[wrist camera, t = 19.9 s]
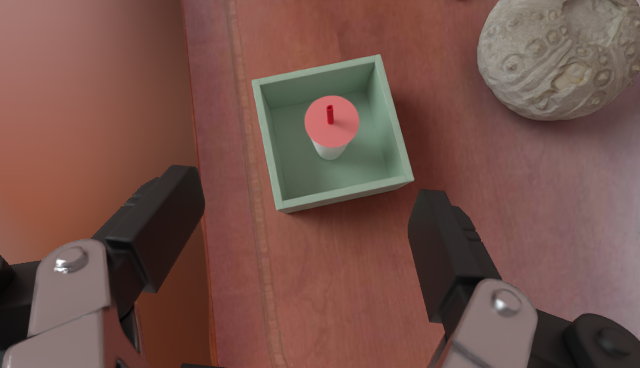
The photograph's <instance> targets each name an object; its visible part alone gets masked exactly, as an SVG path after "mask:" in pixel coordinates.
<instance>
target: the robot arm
mask: <svg viewBox="0 0 640 368" xmlns="http://www.w3.org/2000/svg"><path fill="white" fill-rule="evenodd" d="M204 209H205V199H204V194H203V190H202V186H201V181H200V177H199V172H198V170H197V168H196V167H192V166H181V165H172V166H170V167H169V168H168V169H167V170H166V172H165V173H164V174H163V175H162V176H161V177H160V178H159V177H156V178H154V179H152V180H151V181H149V182H147V183H145V184H144V185H142V186H141V187H140V188H139V189H138V190H137V192H135V193H134V194H133V196H132V198H130V199H128V201H127V202H126V203H125V204H124V206H122V207H121V208H120V209H119V210H118V211H117V212H116V213H115V214H114V215H113V216H112V217H111V218H110V219H109V220H108V221H107V222H106V223H105V224H104V225H103V226H102V227H101V228H100V229H99V230H98V231H97V232H96V233H95V234H94V235H93V237H92V238H91V239H83V240H77V241H73V242H71V243H68V244H65V245H63V246H61V247H59V248H57V249H56V250H54V251H53V252H51V253H50V254H49V255H47V256H46V257H45V258H44V259H43V260H41V261H34V262H27V263H21V264H14V265H9V264H8V263H7V262H6V261H5V260H4V258H2V256H1V255H0V368H149V365H148V362H147V358H146V353H145V346H144V340H143V334H142V328H141V322H140V315H139V309H138V304H137V302H136V300H137V298H138V296H139V295H140V293H141V292H149V293H157V292H158V290H159V288H160V287H161V285H162V283H163V282H164V280H165V278H166V277H167V275H168V273H169V271H170V270H171V268H172V266H173V265H174V263H175V261H176V260H177V258H178V256H179V255H180V253H181V251H182V250H183V248H184V246H185V244H186V243H187V241H188V239H189V238H190V236H191V234H192V233H193V230H194V229H195V228H196V226H197V224H198V223H199V221H200V219H201V218H202V216H203V213H204ZM475 230H476V229H475V227H474V225H473V223H472V221H471V220H470V218H469V217H468V216H467V215H466V214H465V213H464V212H463V211H462V210H461V209H460V208H459V207H456V206H452V205H451V203H450V201H449V199H448V197H447V195H446V193H445V192H444V191H438V190H428V189H421V190H420V191H419V193H418V196H417V199H416V202H415V204H414V207H413V210H412V213H411V216H410V219H409V222H408V239H409V243H410V247H411V251H412V255H413V259H414V263H415V267H416V271H417V275H418V279H419V283H420V287H421V291H422V294H423V298H424V302H425V306H426V310H427V314H428V318H429V322H434V323H443V326H444V330H445V334H444V335H443V337H442V339H441V341H440V343H439V345H438V347H437V349H436V351H435V352H434V354H433V356H432V358H431V360H430V362H429V364H428V366H427V368H640V341H639V340H638V339H637V338H636V337H635V336H634V335H633V334H632V333H631V332H629V331H628V330H627V329H625V328H624V327H622V326H621V325H619V324H618V323H616V322H614V321H612V320H610V319H608V318H606V317H603V316H601V315H597V314H591V313H586V314H582V315H580V316H579V317H578V318H577V319H575V320H574V321H573V322H570V321H567V320H565V319H562V318H559V317H557V316H554V315H551V314H548V313H546V312H543V311H540V310H538V309H535V307H534V305H533V304H532V302H531V301H530V300H529V298H528V297H527V296H526V295H525V294H524V293H523V292H521V291H520V290H519V289H518V288H516V287H514V286H513V285H511V284H509V283H507V282H504V281H503V280H502V278H501V276H500V275H499V273H498V271H497V269H496V267H495V265H494V263H493V261H492V259H491V257H490V256H489V254H488V252H487V250H486V248H485V246H484V244H483V242H481V239H480V237H479V235H478V233H477V232H476V231H475ZM181 368H224V367H214V366H204V365H194V364H185V363H183V364H182V366H181Z"/></svg>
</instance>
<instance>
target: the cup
mask: <svg viewBox="0 0 640 368" xmlns="http://www.w3.org/2000/svg"><path fill="white" fill-rule="evenodd" d="M305 128H306V131H307V133H308V135H309V136H310V138H311V139H312V142H313V144H314V146H315V148H316V151H317V153H318V154H319V156H320V157H321V158H323V159H325V160H334V159H337V158H338V157H339V156H340V155H341V154H342V152H343V151H344V149H345V148H346V146H347V145H348V143H349V142H350V141H351V140H352V139H353V138H354V136H355V135H356V133H357V131H358V128H359V115H358V112H357V110H356V108H355V107H354V106H353V104H352V103H351V102H349V101H348V100H346V99H345V98H342V97H339V96H325V97H322V98H319V99H317V100H316V101H315V102H313V103H312V104H311V105H310V107H309V108H308V110H307V112H306V115H305Z"/></svg>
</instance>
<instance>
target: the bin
mask: <svg viewBox="0 0 640 368" xmlns="http://www.w3.org/2000/svg"><path fill="white" fill-rule="evenodd" d="M251 81H252V86H253V91H254V97H255V102H256V107H257V112H258V118H259V123H260V128H261V133H262V138H263V144H264V149H265V154H266V159H267V164H268V170H269V175H270V180H271V185H272V191H273V196H274V201H275V206H276V210H277V211H280V212H282V213H285V214H286V213H291V212H296V211H300V210H305V209H310V208H314V207H319V206H323V205H328V204H333V203H337V202H342V201H346V200H351V199H356V198H360V197H365V196H370V195H374V194H379V193H383V192H388V191H393V190H396V189H398V188H400V187H402V186H404V185H406V184H408V183H410V182H412V181H414V177H413V173H412V169H411V166H410V162H409V158H408V155H407V151H406V147H405V143H404V140H403V136H402V132H401V129H400V125H399V121H398V118H397V114H396V110H395V107H394V103H393V99H392V96H391V92H390V88H389V85H388V81H387V77H386V74H385V70H384V66H383V62H382V59H381V55H380V54H379V55H374V56H369V57H364V58H359V59H354V60H349V61H344V62H339V63H334V64H330V65H325V66H320V67H315V68H310V69H305V70H300V71H295V72H290V73H285V74H280V75H275V76H270V77H265V78H260V79H255V80H251ZM325 96H339V97H342V98H345V99H346V100H348V101H349V102H351V103H352V104H353V106H354V107H355V108H356V110H357V112H358V115H359V128H358V131H357V133H356V135H355V136H354V138H353V139H352V140H351V141H350V142H349V143H348V145H347V146H346V148H345V149H344V151H343V152H342V154H341V155H340V156H339V157H338V158H337V159H334V160H325V159H323V158H321V157H320V156H319V154H318V153H317V151H316V148H315V146H314V144H313V142H312V139H311V138H310V136H309V135H308V133H307V131H306V128H305V115H306V112H307V110H308V108H309V107H310V105H311V104H312V103H313V102H315V101H316V100H317V99H319V98H322V97H325Z"/></svg>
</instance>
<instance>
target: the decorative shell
mask: <svg viewBox="0 0 640 368" xmlns="http://www.w3.org/2000/svg"><path fill="white" fill-rule="evenodd" d="M477 65H478V66H479V72H480V74H481V75H482V76H483V78H484V80H485V83H486V85H487V86H488V87H489V88H490V89H491V90H492V91H493V93H494V95H495V96H496V97H497V98H498V99H499V100H500V102H501V103H502V104H504V105H505V106H507V107H508V108H509V109H510V110H513V111H515V112H516V113H517V114H519V115H520V116H523V117H525V118H529V119H532V120H547V121H555V120H568V119H573V118H576V117H582V116H587V115H589V114H591V113H594V112H595V111H597V110H598V109H600V108H603V107H604V106H606V105H608V104H609V103H610V102H611V101H612V100H614V99H615V98H617V97H618V96H619V94H620V93H621V92H622V91H624V90H626V89H627V88H629V87H630V86H632V85H633V82H632V78H633V77H634V76H635V75H636V74H637V72H638V71H639V70H640V7H639V4H638V2H637V1H636V0H499V1H498V3H497V4H496V5H495V7H494V8H493V10H492V11H491V12H490V14H489V16H488V18H487V20H486V23H485V25H484V27H483V29H482V32H481V35H480V38H479V44H478V47H477Z"/></svg>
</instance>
